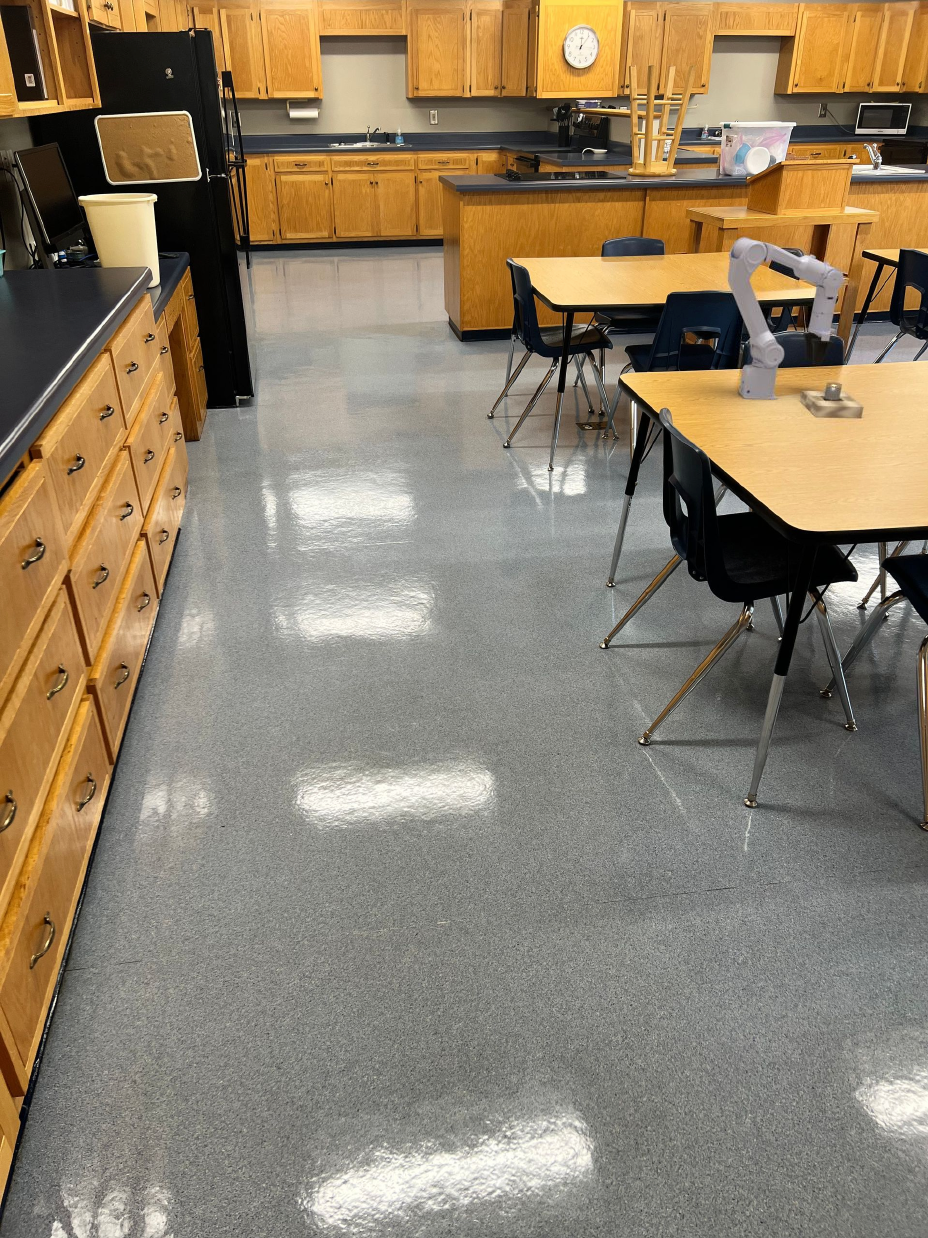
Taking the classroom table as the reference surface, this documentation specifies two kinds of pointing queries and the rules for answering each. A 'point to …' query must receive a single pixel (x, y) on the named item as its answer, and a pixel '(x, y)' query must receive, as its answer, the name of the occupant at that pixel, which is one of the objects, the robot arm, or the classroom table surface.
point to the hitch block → (831, 405)
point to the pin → (832, 391)
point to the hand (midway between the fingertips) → (813, 361)
